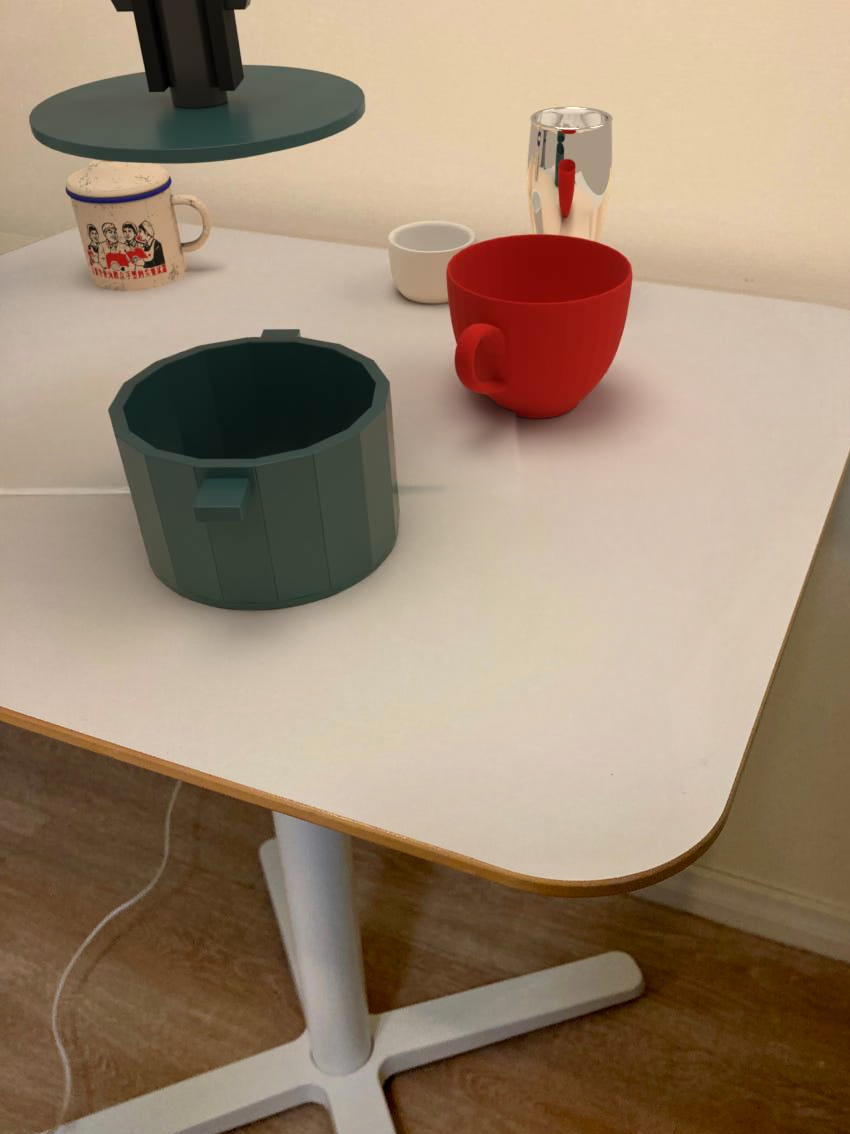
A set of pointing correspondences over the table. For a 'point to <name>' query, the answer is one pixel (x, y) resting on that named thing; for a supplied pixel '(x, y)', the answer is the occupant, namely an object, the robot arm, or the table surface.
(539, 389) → the ceramic cup
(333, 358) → the pot
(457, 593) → the table surface
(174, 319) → the table surface
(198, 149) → the lid
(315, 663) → the table surface
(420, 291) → the teacup
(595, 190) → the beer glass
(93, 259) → the teacup with lid
